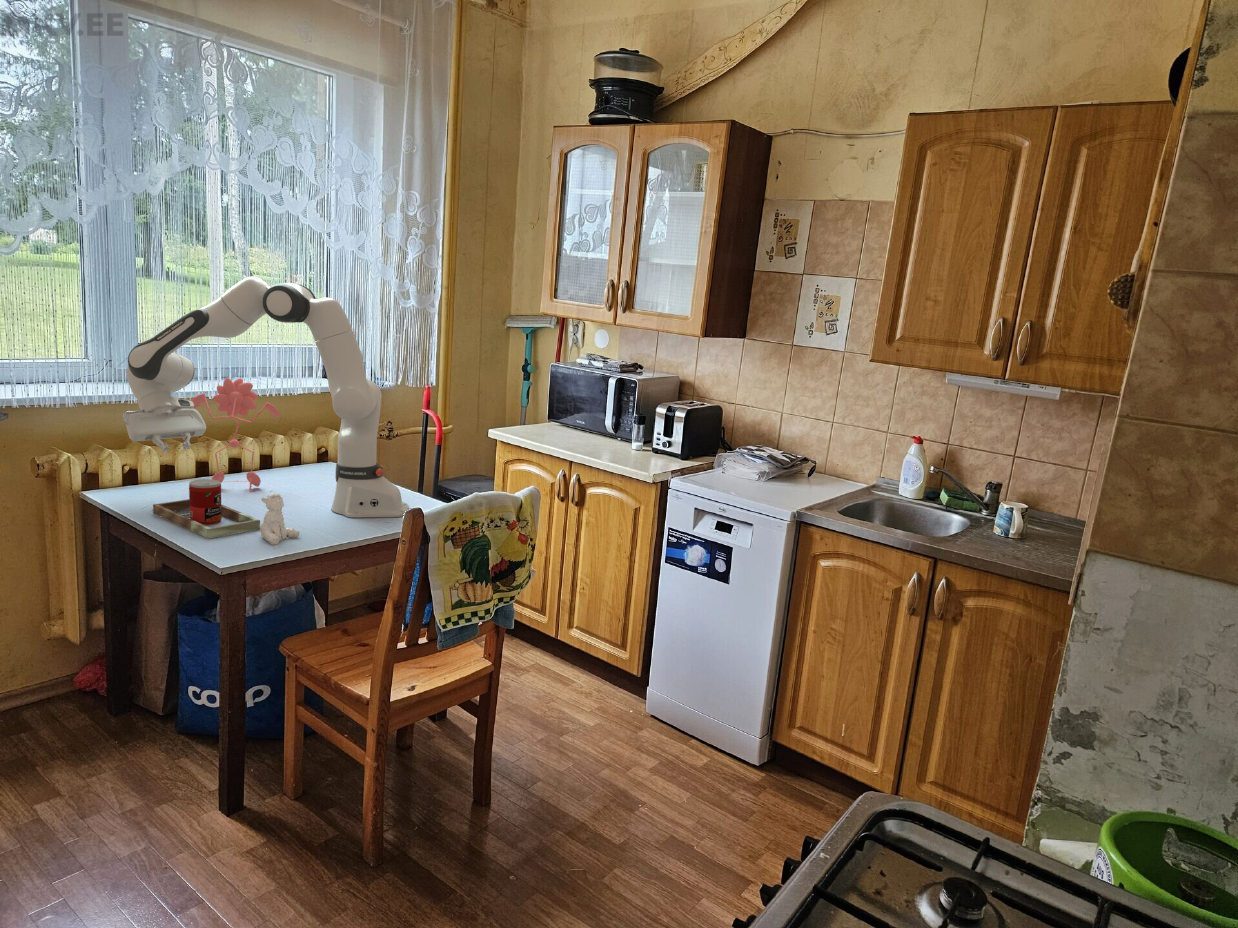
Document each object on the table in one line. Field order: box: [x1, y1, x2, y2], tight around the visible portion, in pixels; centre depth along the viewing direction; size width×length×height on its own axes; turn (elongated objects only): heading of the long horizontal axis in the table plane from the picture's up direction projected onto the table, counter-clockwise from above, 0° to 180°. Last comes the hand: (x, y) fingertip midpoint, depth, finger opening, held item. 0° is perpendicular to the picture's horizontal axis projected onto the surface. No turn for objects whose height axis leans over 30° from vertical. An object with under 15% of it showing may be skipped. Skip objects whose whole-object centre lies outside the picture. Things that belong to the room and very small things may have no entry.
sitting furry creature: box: [259, 493, 300, 546], centre depth 213 cm, size 10×9×12 cm
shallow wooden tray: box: [152, 498, 261, 540], centre depth 223 cm, size 30×14×2 cm, turn 53°
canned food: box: [188, 478, 223, 526], centre depth 222 cm, size 8×8×11 cm
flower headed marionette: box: [190, 377, 281, 493], centre depth 257 cm, size 15×26×35 cm, turn 108°
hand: (176, 449), depth 229 cm, fingers open, 5 cm apart
